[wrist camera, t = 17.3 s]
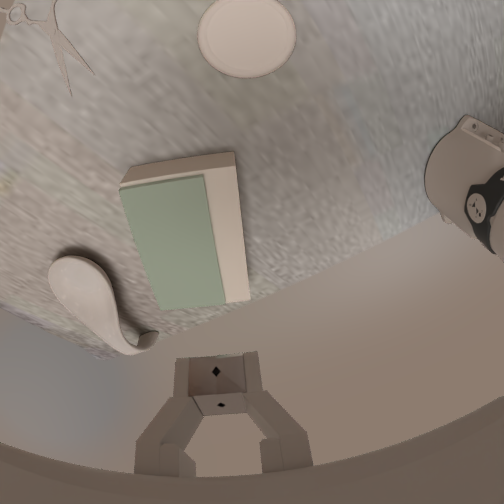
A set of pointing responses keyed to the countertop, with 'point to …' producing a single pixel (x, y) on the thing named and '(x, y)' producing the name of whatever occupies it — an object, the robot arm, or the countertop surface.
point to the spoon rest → (93, 301)
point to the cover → (175, 241)
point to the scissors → (54, 34)
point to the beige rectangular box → (211, 210)
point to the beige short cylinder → (246, 37)
